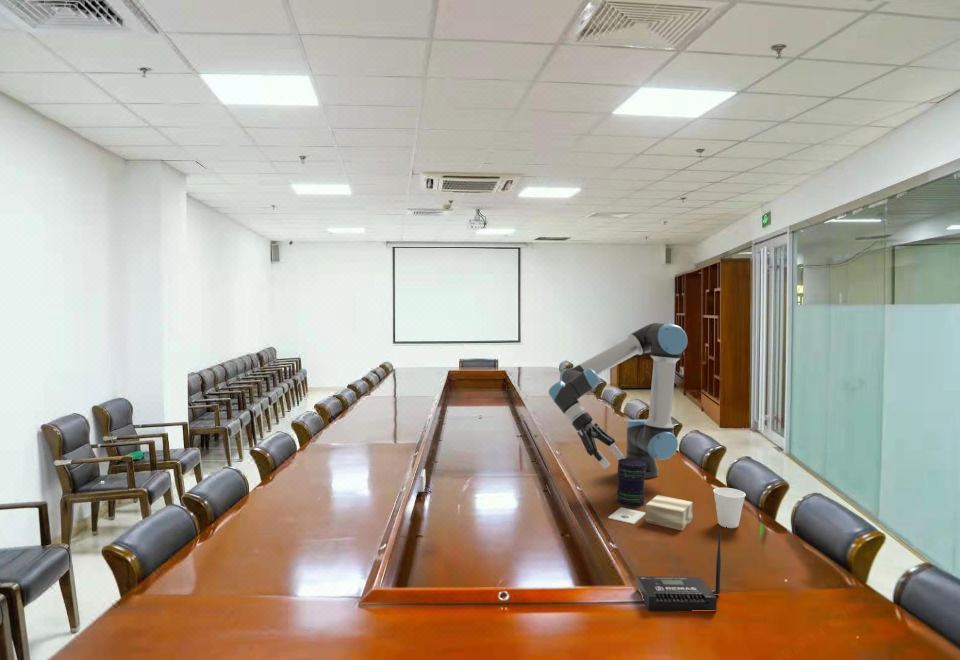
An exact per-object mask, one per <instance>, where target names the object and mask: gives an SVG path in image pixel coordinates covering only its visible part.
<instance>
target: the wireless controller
mask: <svg viewBox="0 0 960 660" xmlns="http://www.w3.org/2000/svg"><path fill="white" fill-rule="evenodd" d="M717 533H718V535H717V536H718V537H717V551H716V552H717V553H716V560H715V563H716V564H715V586H714V587H715V588H714V590H711V589H710V587H708V585H707V584H706V583H705V581H704V580H703V578H702V577H700V576H697V577H696V576H642V575H641V576H640V575H639V576H636V579H637V580H636V586H637V585H638V587H639V589H640V591H641V593H642V595H643V599H644V602H643V604H644V605H645V607H646V608H647V610H648V612H678V611H692V610H716V611H717V602H718V598H717V595H714V594H720V595H721V579H722V578H721V576H722V575H721V574H722V553H721V552H722V551H721V542H722V541H721V540H722V530H721V529H718V531H717Z"/></svg>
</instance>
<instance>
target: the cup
mask: <svg viewBox="0 0 960 660" xmlns="http://www.w3.org/2000/svg"><path fill="white" fill-rule="evenodd" d="M712 492H713V494H714V503H715V508H716V516H717V523H718V524H719V526H721V527H723V528H726V527H727V528H726V529H736V528H738V527H739V525H740V519H741V517H742V510H743V505H744V502H745V499H746V498H745V497H747V495H746V493H745V492H744V491H742V490H739V489H737V488H730V487H716V488H714V489H713V490H712Z"/></svg>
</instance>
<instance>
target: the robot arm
mask: <svg viewBox="0 0 960 660" xmlns="http://www.w3.org/2000/svg"><path fill="white" fill-rule="evenodd" d="M687 346H688V336H687V333H686V332H685V330H684V329H683V328H682V327H681V326H680V325H676V324H673V323H660V322H653V323H650V324H647V325H644V326H643V327H641V328H640V329H637V330H636V331H633V332H632V333H630V334H628V336H627V338H625V339H624V340H622V341H620V342H618V343H617V344H614V345H613V346H611V347H610V348H608V349H606V350H604V351H602V352H600V353H598V354H596V355H594V356H593V357H590V358H589V359H587V360H585V361H583V362H581V363H580V364H578V365H576V366H574V367H572V368H565V369H563V370H562V371H561V372H560V374H559V381H558V382H556V383H554V384H553V385H552V386H551V387H550V388H549V390H548V395H549V396H550V398H551V400H553V402H554V403H555V404H556V406H557V407H558V408H559V409H560V411H561V412H562V413H563V415H564V416H565V417H566V419H567V420H568V421H569V423H572V424H571V425H572V426H573V428H574V429H575V430H576V431H577V435H578V436H579V438H580V440H581V441H582V444H583V446H584V449H585V451H586V453H587V454H588V455H589V456H590V457H591V456H593V457H594V458H595V459H596V460H597V461H598V463H599V464H600V465H601V467H602V468H603V470H606V469H608V467H610V466H611V463H610V462H609V461H608V459H607V458H606V457H605V456H604V454H603V453H602V452H601V451H600V450H599V449H598V448H597V444H596V441H595V439H597V440H598V441H600V442H602V443H603V444H605V446H607V448H608V449H609V451H610V452H611V453H612V454H613V456H614V458H616V460H617V461H618V460H620V459H638V460H642V461H644V462H645V479H653V478H657V477H658V476H659V467H658V464H657V461H656V459H657V460H660V461H663V460H668V459H670V458H672V456H674V455H675V454H676V452H677V450H678V447H679V442H678V439H677V436H675V434H674V431H675V425H674V424H673V423H672V422H671V421H672V408H673V399H674V388H675V387H674V386H675V378H676V377H675V375H676V365H677V362H678V361H679V360H681V355H682V353H683V352H684V351H685V350H686V348H687ZM648 352H650V355H649V357H651V359H653V365H652V366H653V367H652V377H651V387H650V388H651V389H650V397H649V398H650V399H649V410H648V419H630V420H628V421H627V424H626V451H625V452H626V454H625V455H624V454H623V453H622V451H621V450H620V449H619V448H618V446H616V444H615V442H616V440H615V439H614V438H615V437H612V435H610V434H609V432H606V431H605V429H603V428H602V427H601V426H600V425H599V424H598V423H597V422H595V423H594V424H593V418H592V416H591V414H589V412H587V410H586V408H585V407H584V406H583V405H582V403H581V402H580V401H579V399H580V398H582V397H583V396H584V395H586V394H587V393H589V392H591V390H594V389H595V388H596V387H597V386H598V385H599V384H600V378H599V375H600V374H602V373H604V372H606V371H609V370H610V369H612V368H613V367H616V366H617V365H619V364H622V363H623V362H625V361H627V360H628V359H631V358H632V357H634V356H636V355H639V356H641V355H643V354H645V353H648ZM656 476H657V477H656Z"/></svg>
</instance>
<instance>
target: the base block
mask: <svg viewBox="0 0 960 660" xmlns="http://www.w3.org/2000/svg"><path fill="white" fill-rule="evenodd" d="M693 504H694V502H693V501H690V500H689V501H688V500H685V499H680V498H675V497H671V496H670V497H669V496H664V495H659V494H657V495H656V496H654V497H653V498H652V499H651V500H650V501H648V502H647V503H646V504H645V513H646V514H645V521H644V522H645V523H647V524H653V525H656V526H660V527H663V528H664V527H665V528H669V529H673V530H678V531H684V530H685V528H686V527H687V526H688V525H689V524H690V523H691V522H692V521H693V509H694V507H693Z"/></svg>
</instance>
